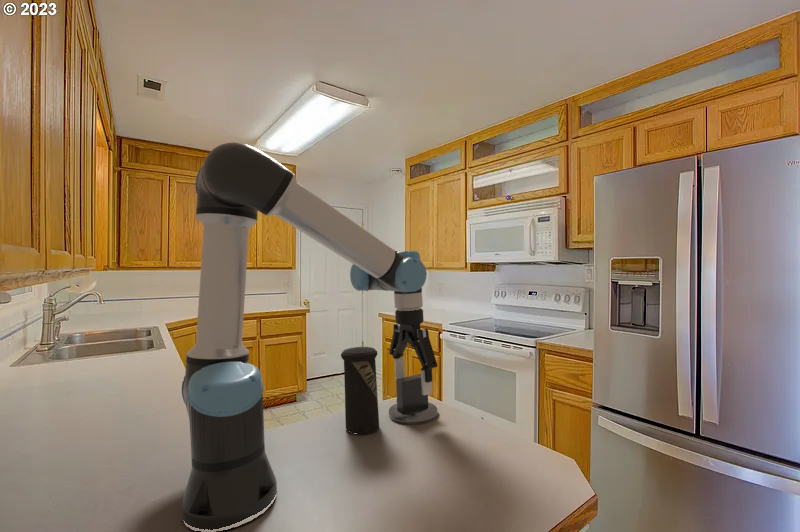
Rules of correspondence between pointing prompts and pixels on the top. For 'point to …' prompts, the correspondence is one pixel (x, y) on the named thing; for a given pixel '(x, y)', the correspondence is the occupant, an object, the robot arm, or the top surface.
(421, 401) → the lid
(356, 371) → the container
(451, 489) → the top surface
